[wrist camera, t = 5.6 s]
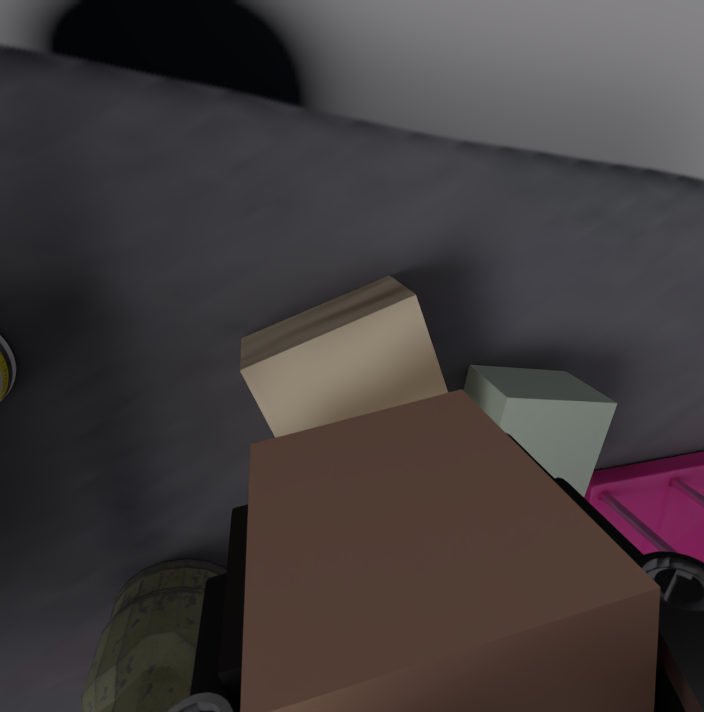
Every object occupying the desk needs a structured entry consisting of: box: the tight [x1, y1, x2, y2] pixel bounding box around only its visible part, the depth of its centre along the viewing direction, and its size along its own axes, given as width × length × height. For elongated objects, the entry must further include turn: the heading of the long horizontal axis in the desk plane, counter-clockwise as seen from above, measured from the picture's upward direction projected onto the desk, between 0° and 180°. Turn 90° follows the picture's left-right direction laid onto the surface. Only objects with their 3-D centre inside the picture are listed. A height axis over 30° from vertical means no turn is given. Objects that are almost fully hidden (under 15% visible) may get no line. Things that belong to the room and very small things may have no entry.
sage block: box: [463, 365, 617, 497], centre depth 30 cm, size 7×7×5 cm
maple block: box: [240, 275, 448, 438], centre depth 27 cm, size 9×9×5 cm
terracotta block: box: [240, 389, 660, 712], centre depth 9 cm, size 5×5×6 cm
